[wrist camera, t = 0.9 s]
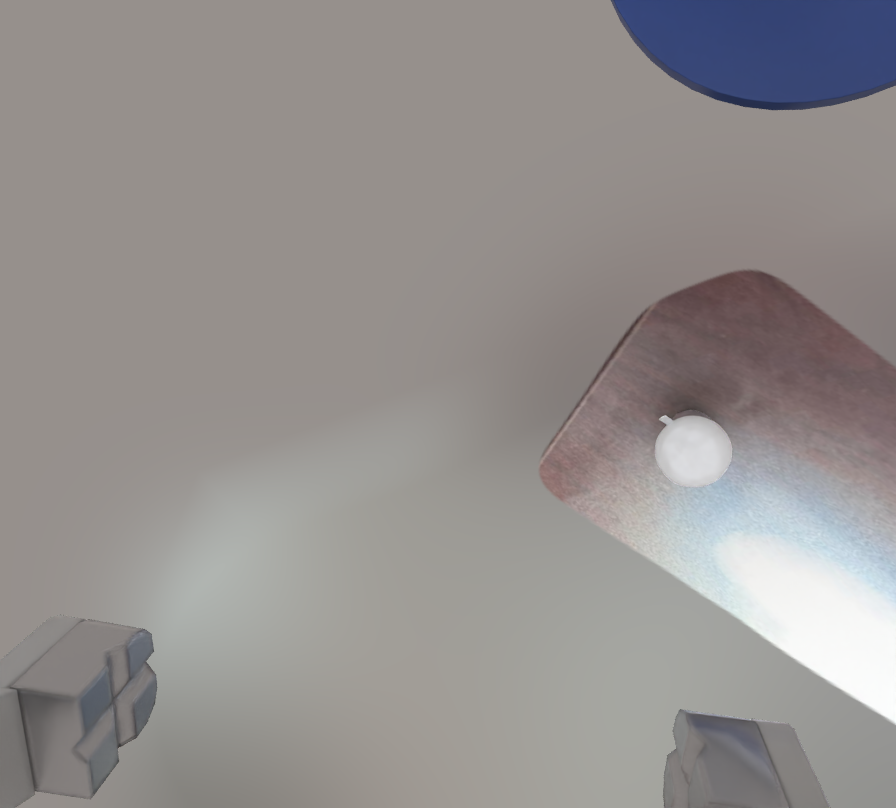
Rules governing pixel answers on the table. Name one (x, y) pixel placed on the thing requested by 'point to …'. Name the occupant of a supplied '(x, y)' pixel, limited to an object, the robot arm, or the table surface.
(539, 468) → the table surface
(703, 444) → the milkshake
